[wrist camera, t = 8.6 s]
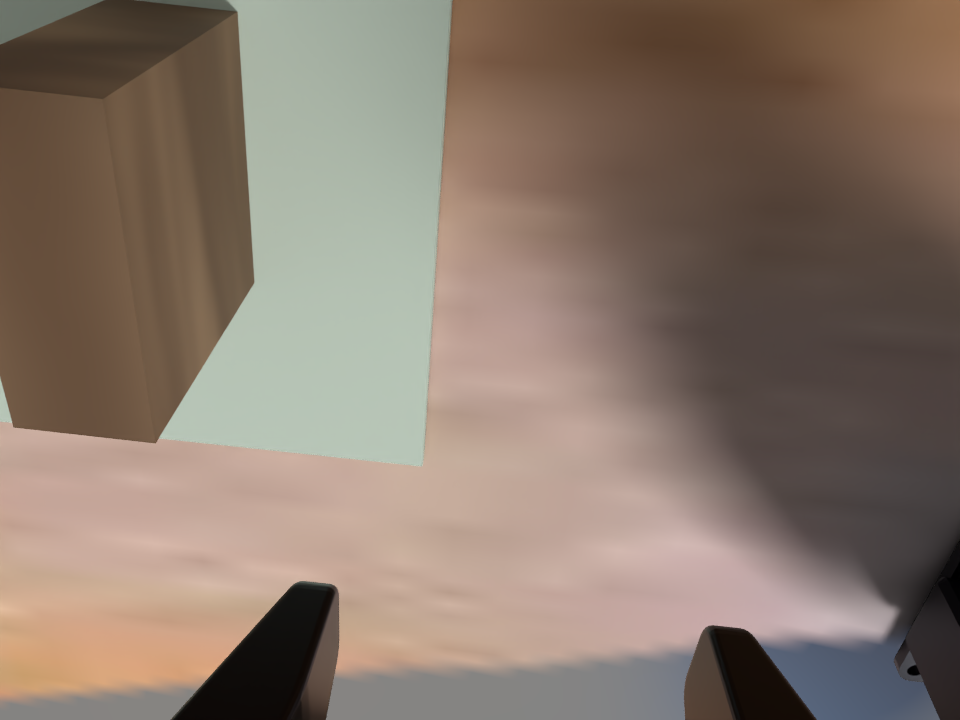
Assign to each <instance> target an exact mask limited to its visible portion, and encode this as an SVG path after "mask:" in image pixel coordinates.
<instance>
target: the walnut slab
mask: <svg viewBox="0 0 960 720" xmlns="http://www.w3.org/2000/svg"><path fill="white" fill-rule="evenodd" d="M253 284H254V267H253V251H252V235H251V219H250V203H249V187H248V171H247V155H246V139H245V123H244V107H243V91H242V75H241V59H240V43H239V27H238V12H236V11H227V10H218V9H209V8H200V7H191V6H182V5H173V4H164V3H155V2H146V1H137V0H104V1H101V2H99V3H97V4H94V5H92V6H90V7H87V8H85V9H82V10H80V11H78V12H75V13H73V14H71V15H68V16H66V17H64V18H61V19H59V20H57V21H54V22H52V23H50V24H47V25H45V26H43V27H40V28H38V29H36V30H33V31H31V32H28V33H26V34H24V35H21V36H19V37H17V38H14V39H12V40H10V41H7V42H5V43H3V44H0V379H1V382H2V386H3V390H4V393H5V397H6V401H7V405H8V408H9V412H10V416H11V420H12V423H13V427H15V428H24V429H33V430H42V431H51V432H60V433H69V434H77V435H86V436H95V437H104V438H113V439H122V440H131V441H140V442H149V443H156V442H157V440H158V439H159V437H160V435H161V434H162V432H163V431H164V429H165V427H166V426H167V424H168V422H169V421H170V419H171V418H172V416H173V414H174V413H175V411H176V409H177V408H178V406H179V405H180V403H181V401H182V400H183V398H184V396H185V395H186V393H187V392H188V390H189V388H190V387H191V385H192V383H193V382H194V380H195V379H196V377H197V375H198V374H199V372H200V370H201V369H202V367H203V366H204V364H205V362H206V361H207V359H208V357H209V356H210V354H211V353H212V351H213V349H214V348H215V346H216V344H217V343H218V341H219V340H220V338H221V336H222V335H223V333H224V331H225V330H226V328H227V327H228V325H229V323H230V322H231V320H232V318H233V317H234V315H235V314H236V312H237V310H238V309H239V307H240V305H241V304H242V302H243V301H244V299H245V297H246V296H247V294H248V292H249V291H250V289H251V288H252V286H253Z"/></svg>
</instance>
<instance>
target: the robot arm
mask: <svg viewBox="0 0 960 720" xmlns="http://www.w3.org/2000/svg"><path fill="white" fill-rule="evenodd" d="M338 649H339V593H338V589H337V587H335V586H334V585H332V584H326V583H316V582H307V581H300V582H297V583H295V584H294V585H292V586H291V587H290V588H289V589H288V591H287V592H286V593H285V594H284V595H283V596H282V597H281V598H280V599H279V601H278V602H277V603H276V604H275V605H274V606H273V607H272V608H271V609H270V610H269V612H268V613H267V614H266V615H265V616H264V617H263V618H262V619H261V620H260V622H259V623H258V624H257V625H256V626H255V627H254V628H253V629H252V630H251V631H250V633H249V634H248V635H247V636H246V637H245V638H244V639H243V640H242V641H241V643H240V644H239V645H238V646H237V647H236V648H235V649H234V650H233V651H232V652H231V654H230V655H229V656H228V657H227V658H226V659H225V660H224V661H223V662H222V663H221V665H220V666H219V667H218V668H217V669H216V670H215V671H214V672H213V673H212V675H211V676H210V677H209V678H208V679H207V680H206V681H205V682H204V683H203V684H202V686H201V687H200V688H199V689H198V690H197V691H196V692H195V693H194V694H193V696H192V697H191V698H190V699H189V700H188V701H187V702H186V703H185V705H183V707H182V708H181V709H180V710H179V711H178V712H177V713H176V714H175V716H174V717H173V718H172V719H171V720H326V716H327V711H328V706H329V700H330V695H331V690H332V685H333V679H334V674H335V669H336V663H337V657H338ZM894 663H895V666H896V668H897V670H898V673H899V675H900V677H902V678H903V679H905V680H909V681H917V682H924V684H925V686H926V688H927V691H928V693H929V695H930V698H931V700H932V702H933V704H934V707H935V709H936V711H937V714H938V716H939V718H940V720H960V541H959V543H958V544H957V546H956V548H955V550H954V552H953V553H952V555H951V557H950V559H949V561H948V562H947V564H946V566H945V568H944V570H943V571H942V573H941V575H940V577H939V579H938V580H937V582H936V584H935V585H934V587H933V589H932V591H931V592H930V594H929V596H928V598H927V600H926V601H925V603H924V605H923V607H922V609H921V610H920V612H919V614H918V616H917V618H916V619H915V621H914V623H913V625H912V627H911V629H910V630H909V632H908V634H907V636H906V638H905V640H904V642H903V644H902V645H901V647H900V649H899V651H898V653H897V654H896V656H895V659H894ZM684 706H685V720H816V718H815V717H814V715H813V714H812V713H811V711H810V710H809V709H808V707H807V706H806V705H805V703H804V702H803V701H802V699H801V698H800V697H799V696H798V694H797V693H796V692H795V690H794V689H793V688H792V687H791V685H790V684H789V682H788V681H787V680H786V678H785V677H784V676H783V674H782V673H781V672H780V671H779V669H778V668H777V666H776V665H775V664H774V663H773V661H772V660H771V659H770V657H769V656H768V655H767V654H766V652H765V651H764V649H763V648H762V647H761V645H760V644H759V643H758V641H757V640H756V639H755V638H754V636H753V635H752V634H751V633H749V632H748V631H746V630H745V629H741V628H733V627H723V626H714V625H712V626H708V627H706V628H705V629H704V630H703V632H702V634H701V636H700V639H699V642H698V644H697V647H696V650H695V653H694V656H693V659H692V662H691V665H690V667H689V670H688V673H687V676H686V681H685V689H684Z"/></svg>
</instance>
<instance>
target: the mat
mask: <svg viewBox="0 0 960 720" xmlns="http://www.w3.org/2000/svg"><path fill="white" fill-rule="evenodd" d="M101 1H104V0H0V44H3V43H5V42H7V41H10V40H12V39H14V38H17V37H19V36H21V35H24V34H26V33H28V32H31V31H33V30H36V29H38V28H40V27H43V26H45V25H47V24H50V23H52V22H54V21H57V20H59V19H61V18H64V17H66V16H68V15H71V14H73V13H75V12H78V11H80V10H82V9H85V8H87V7H90V6H92V5H94V4H97V3H99V2H101ZM137 1H146V2H155V3H164V4H173V5H182V6H191V7H200V8H209V9H218V10H227V11H236V12H238V27H239V43H240V59H241V75H242V91H243V107H244V123H245V139H246V155H247V171H248V187H249V203H250V219H251V235H252V251H253V267H254V284H253V286H252V288H251V289H250V291H249V292H248V294H247V296H246V297H245V299H244V301H243V302H242V304H241V305H240V307H239V309H238V310H237V312H236V314H235V315H234V317H233V318H232V320H231V322H230V323H229V325H228V327H227V328H226V330H225V331H224V333H223V335H222V336H221V338H220V340H219V341H218V343H217V344H216V346H215V348H214V349H213V351H212V353H211V354H210V356H209V357H208V359H207V361H206V362H205V364H204V366H203V367H202V369H201V370H200V372H199V374H198V375H197V377H196V379H195V380H194V382H193V383H192V385H191V387H190V388H189V390H188V392H187V393H186V395H185V396H184V398H183V400H182V401H181V403H180V405H179V406H178V408H177V409H176V411H175V413H174V414H173V416H172V418H171V419H170V421H169V422H168V424H167V426H166V427H165V429H164V431H163V432H162V434H161V435H160V437H159V438H160V439H170V440H179V441H189V442H198V443H207V444H217V445H226V446H235V447H245V448H254V449H263V450H273V451H282V452H291V453H301V454H310V455H320V456H329V457H338V458H348V459H357V460H366V461H376V462H385V463H394V464H404V465H413V466H422V465H423V460H424V449H425V433H426V417H427V401H428V385H429V369H430V353H431V337H432V321H433V305H434V289H435V273H436V257H437V241H438V225H439V208H440V192H441V176H442V160H443V144H444V128H445V112H446V96H447V80H448V64H449V48H450V32H451V16H452V0H137ZM0 421H1V422H11V423H12V420H11V416H10V412H9V408H8V405H7V401H6V397H5V393H4V390H3V386H2V382H1V379H0Z"/></svg>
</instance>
